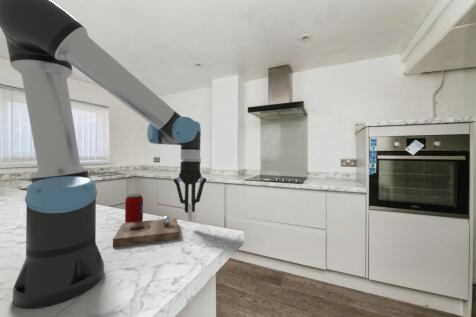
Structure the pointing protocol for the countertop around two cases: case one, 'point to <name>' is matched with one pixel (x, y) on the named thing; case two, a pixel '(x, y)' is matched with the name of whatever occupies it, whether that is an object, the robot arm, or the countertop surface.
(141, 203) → the beverage can
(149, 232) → the block
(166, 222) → the ball
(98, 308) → the countertop surface
